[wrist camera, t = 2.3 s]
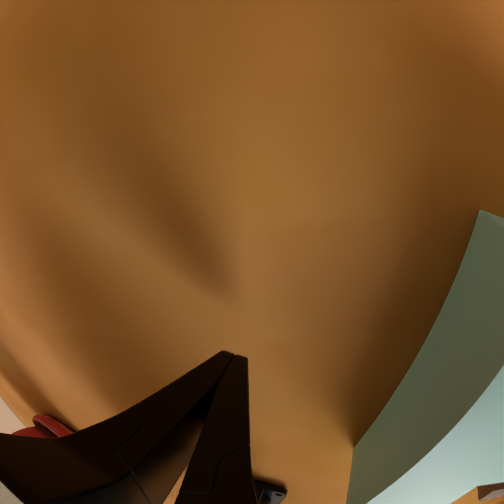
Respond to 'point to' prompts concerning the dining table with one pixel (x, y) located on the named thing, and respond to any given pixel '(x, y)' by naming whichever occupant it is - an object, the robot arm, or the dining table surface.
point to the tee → (446, 395)
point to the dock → (490, 491)
